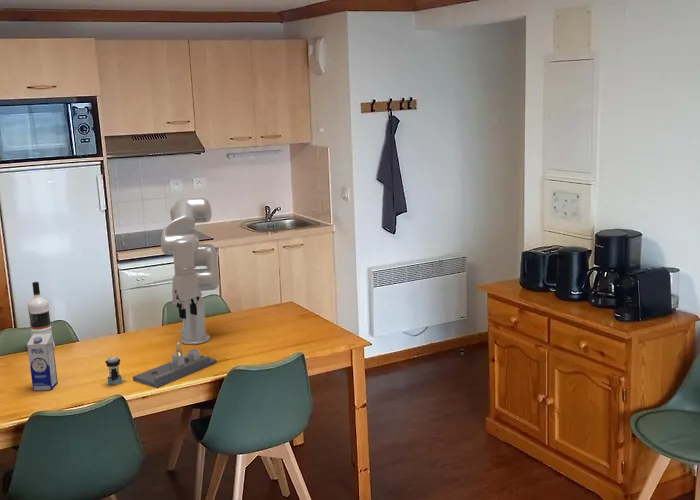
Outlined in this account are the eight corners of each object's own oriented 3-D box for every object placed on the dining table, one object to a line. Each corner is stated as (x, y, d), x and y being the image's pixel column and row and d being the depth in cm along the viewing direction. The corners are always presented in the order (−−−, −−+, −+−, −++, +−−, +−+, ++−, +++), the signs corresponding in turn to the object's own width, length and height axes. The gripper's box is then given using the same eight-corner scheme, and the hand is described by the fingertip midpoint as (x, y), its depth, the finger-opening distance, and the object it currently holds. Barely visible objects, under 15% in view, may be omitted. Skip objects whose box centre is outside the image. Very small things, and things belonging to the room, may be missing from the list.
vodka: (55, 351, 320) (46, 283, 313) (31, 354, 317) (22, 285, 310) (55, 344, 328) (47, 278, 322) (32, 347, 325) (24, 280, 319)
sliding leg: (166, 366, 292) (163, 340, 290) (172, 364, 295) (170, 338, 292) (181, 371, 287) (179, 344, 285) (188, 368, 289) (185, 342, 287)
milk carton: (58, 383, 284) (52, 332, 279) (52, 390, 277) (45, 338, 273) (39, 384, 283) (33, 333, 279) (32, 391, 277) (26, 339, 273)
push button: (124, 379, 286) (122, 354, 283) (127, 383, 281) (125, 358, 279) (106, 382, 283) (103, 357, 280) (109, 387, 278) (106, 361, 276)
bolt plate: (133, 380, 284) (131, 364, 283) (192, 356, 307) (191, 341, 306) (157, 388, 276) (155, 371, 274) (216, 363, 299) (215, 347, 298)
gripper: (194, 265, 295) (198, 309, 299) (160, 274, 282) (164, 320, 286) (208, 267, 291) (211, 312, 295) (174, 276, 278) (178, 323, 281)
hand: (188, 315), depth 290 cm, fingers open, 4 cm apart
